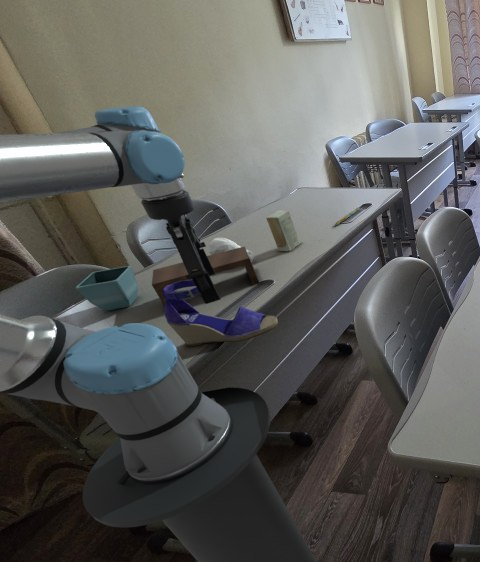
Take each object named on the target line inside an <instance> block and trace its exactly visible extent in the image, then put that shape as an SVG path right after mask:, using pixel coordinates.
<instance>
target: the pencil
mask: <svg viewBox="0 0 480 562" xmlns="http://www.w3.org/2000/svg"><path fill="white" fill-rule="evenodd" d="M360 210H361V208H360V207H356V208H354V210H352V211H351V212H349V213H348V214H346V215H344V216H343V217H341V218H340V219H338V220H337V221H336V222H335V223H334V225H333V227H336V226H339V225H340V224H342V223H343V222H345V221H347V219H349V218H350V217H352V216H353V215H355V214H356V213H357V212H359V211H360Z"/></svg>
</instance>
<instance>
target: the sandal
mask: <svg viewBox="0 0 480 562" xmlns="http://www.w3.org/2000/svg"><path fill="white" fill-rule="evenodd" d="M184 288H187V289H184ZM188 288H190V289H188ZM173 291H174V292H173ZM163 294H164V297H165V307H164V313H163V314H164V317H165V320H166V323H167V324H168V325H169V327H170V328H172V330H173V331H174V332H175V333H176V334H177V335H178V336H179V337H180V339H181V340H182V341H183V342H184V343H185V344H186V346H187V347H194V346H201V345H202V344H207V343H238V342H243V341H247V340H250V339H253V338H256V337H258V336H262V335H264V334H267V333H268V332H270V331H272V330H273V329H275V328H276V327H277V326H278V324H279V321H278V318H277V316H275V315H267V314H264V313H260V312H257V311H254V310H251V309H249V308H245V307H243V306H239V307H238V309H237V312H236V314H235V315H234V317H233V319H231V318H230V319H229V318H223V317H218V316H214V315H210V314H207V313H201V312H199V311H198V310H197V309H196V308H195V307H194V306H192V305H191V304H190V303H188V302H187V301H186V300H191V299H193V298H195V296H196V295H200V293H199V291H198V289H197V287H196V285H195V283H194V281H193V280H185V281H179V282H175V283H173V284H171V285H167V286H166V287H165V288H164V289H163Z"/></svg>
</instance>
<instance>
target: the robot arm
mask: <svg viewBox="0 0 480 562" xmlns="http://www.w3.org/2000/svg"><path fill="white" fill-rule="evenodd" d="M94 118H95V120H96V124H95V125H92V126H90V127H89V126H87V127H82V128H76V129H70V130H64V131H58V132H52V133H51V132H50V133H49V132H48V133H21V134H20V133H19V134H0V204H5V203H6V204H7V203H12V202H19V201H26V200H33V199H39V198H47V197H53V196H54V197H55V196H60V195H67V194H73V193H81V192H88V191H94V190H101V189H109V188H118V187H119V188H120V187H125V186H131V188H132V189H133V191H134V193H135V195H136V197H137V198H139V199H141V202H140V203H141V205H142V207H143V209H144V211H145V212H146V214H147V216H148V217H149V218H150V219H151V220H154V221H161V220H165V221H167V222H166V223H165V225H166V226H165V227H166V231H167V233H168V235H170V237H171V239H172V242H173V244H174V246H175V247H176V249H177V252H178V254H179V256H180V259H181V261H182V262H183V263H184V265H185V268H186V270H187V272H188V275H185V276H186V278H187V279H190V278H192V280H193V281H194V283H195V285H196V286H195V287H197V289H198V291H199V295H200V297H201V299H202V300H203V303H204V304H205V305H208V304H210V303H213V302H217V301H220V300H221V297H220V294H219V293H218V290H217V288H216V287H215V284H214V283H213V282H214V281H212V278H211V277H212V276H215V275H216V274H215V272H214V270H213V268H212V265H211V263H210V261H209V259H208V257H207V256H208V255H207V254H206V251H205V249H204V248H206V247H207V245H206V243H205V241H202V242H201V239H200V238H199V236H198V234H197V232H196V230H195V228H194V225H193V223H192V220H191V218H190V217H189V218H188V216H187V215H188V214H190V213H192V212H193V211H194V210H195V204H194V202H193V200H192V198H191V196H190V193H189V192H188V191H186V190H185V189H186V186H185V183H184V182H183V180H182V179H183V178H185V174H184V173H183V172H184V170H185V164H186V163H185V158H184V154H183V151H182V149H181V147H180V146H179V145H178V143H176V141H175V140H174V139H172V138H171V137H169V136H168V135H166V134H164V133H162V131H161V130H160V128H159V127H158V125H157V123H156V121H155V120H154V118H153V116H152V114H151V113H150V111H149V110H148V109H147V108H145V107H142V106H138V105H137V106H136V105H135V106H120V107H111V108H104V109H100V110H96V111H95V112H94ZM196 269H197V270H196ZM192 270H195V271H192ZM201 392H202V391H201V390H200V388H199V386H198V384H197V383H196V381H195V379H194V378H193V376H192V374H191V372H190V371H189V369H188V367H187V366H186V364H185V363H184V360H183V359H182V357H181V356H180V354H179V352H178V349H177V346H176V345H175V343H174V342H173V341H172V340H171V339H170V338H169V337H168V336H167V334H166V333H165V332H164V331H163V330H162V329H160V328H158V327H157V326H155V325H151V324H149V323H148V324H147V323H140V322H139V323H135V322H133V323H125V324H123V325H121V326H118V325H114V326H113V325H112V326H110V327H106V328H103V329H99V330H97V331H94V330H90V329H87V328H83V327H80V326H77V325H74V324H71V323H68V322H64V321H62V320H58V319H54V318H52V317H48V316H45V315H31V316H28V317H25V318H21V319H18V318H15V317H12V316H7V315H5V314H1V313H0V394H3V395H4V394H5V395H10V396H15V397H21V398H22V397H23V398H27V399H32V400H38V401H46V402H51V403H57V404H62V405H67V406H71V407H76V408H79V409H80V408H81V409H85V410H90V411H94V412H96V413H97V414H99V415H100V416H101V417H102V418H103V419H104V421H105V422H106V423H107V424H108V426H109V427H110V428H111V429H112V430H113V432H115V434H116V435H117V436H118V438H119V437H120V440H121V447H122V453H123V459H124V465H125V468H126V472H125V474H124V475H123V476H122V477H121V478H120V479H119V480H118V482H117V483H118V484H121V485H123V484H124V483H125V481H126V480H127V479H128V478H129V477H130V476H131V477H132V478H133V479H134V480H135V481H137V482H139V483H142V484H148V485H151V484H161V483H165V482H169V481H172V480H175V479H178V478H180V477H182V476H185V475H187V474H189V473H190V472H192V471H194V470H196V469H197V468H199V467H200V466H202V465H203V464H205V463H206V462H207V461H209V460H210V459H211V458H212V457H213V456H214V455H215V454H217V453H218V452H219V450H220V449H221V448H222V447H223V446H224V444H225V443H226V442H227V440H228V438H229V436H230V434H231V432H232V427H233V422H232V419H231V417H230V415H229V414H228V412H227V411H226V410H225V409H224V408H223V407H222V406H220V405H219V404H217V403H216V402H215V400H214V398H212V399H210V398H208V397H207V396H205V395H204V394H202V393H201Z"/></svg>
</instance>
